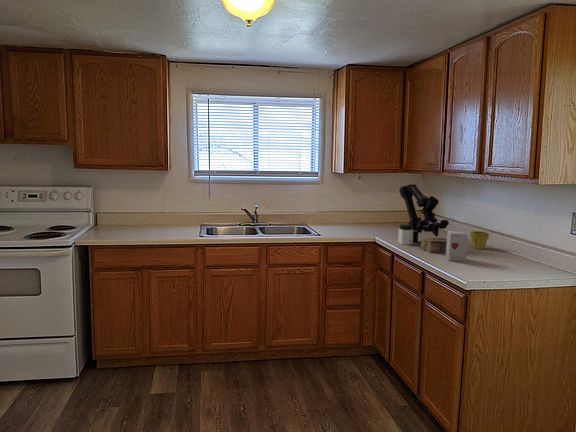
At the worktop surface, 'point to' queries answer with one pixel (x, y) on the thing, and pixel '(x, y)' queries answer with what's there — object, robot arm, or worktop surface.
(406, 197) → the robot arm
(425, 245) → the cardboard box
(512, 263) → the worktop surface
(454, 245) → the supplement box
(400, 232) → the jar
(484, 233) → the plant pot
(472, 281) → the worktop surface
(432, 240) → the lid
